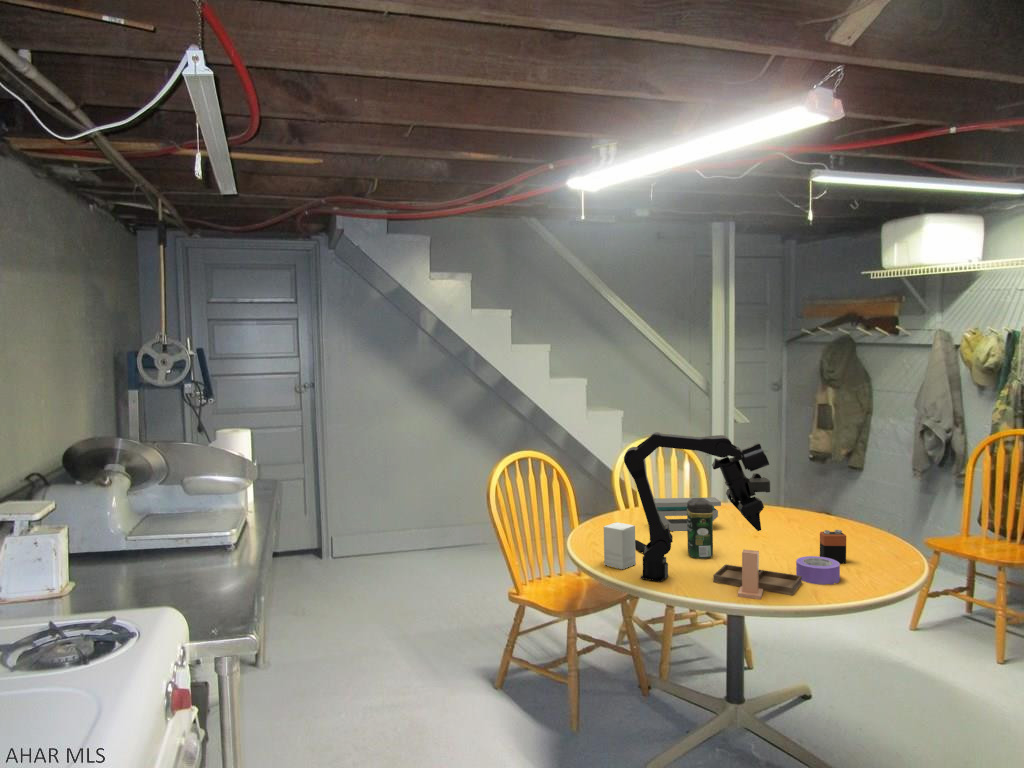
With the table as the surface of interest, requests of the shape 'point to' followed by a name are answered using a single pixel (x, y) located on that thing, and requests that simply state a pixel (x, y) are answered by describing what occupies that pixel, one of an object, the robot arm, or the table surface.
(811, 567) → the tape roll
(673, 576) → the table surface
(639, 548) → the electric trimmer
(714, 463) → the robot arm
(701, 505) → the coffee jar
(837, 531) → the battery
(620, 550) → the supplement box
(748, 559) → the pink post on base
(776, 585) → the divided tray
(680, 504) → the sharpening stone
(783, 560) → the table surface
